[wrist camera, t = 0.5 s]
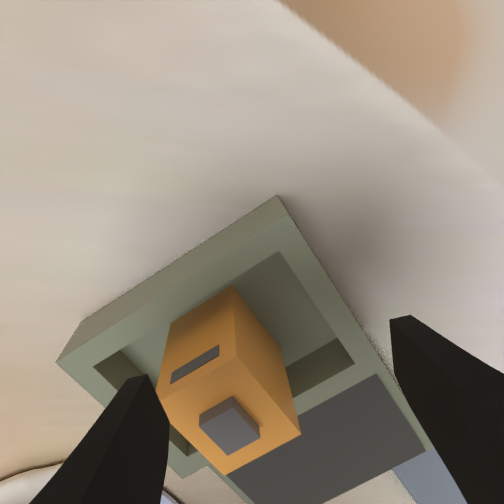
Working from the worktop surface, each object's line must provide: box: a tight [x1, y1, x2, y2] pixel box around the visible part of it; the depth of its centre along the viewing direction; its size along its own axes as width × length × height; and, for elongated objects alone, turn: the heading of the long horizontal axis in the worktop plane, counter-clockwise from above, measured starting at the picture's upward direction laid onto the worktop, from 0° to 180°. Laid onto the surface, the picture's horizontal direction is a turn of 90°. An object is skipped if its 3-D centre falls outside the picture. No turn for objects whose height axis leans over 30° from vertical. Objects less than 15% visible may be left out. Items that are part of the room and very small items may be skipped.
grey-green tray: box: [55, 195, 434, 504], centre depth 22 cm, size 13×20×4 cm, turn 33°
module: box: [156, 285, 301, 476], centre depth 18 cm, size 4×5×7 cm
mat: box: [392, 448, 467, 504], centre depth 28 cm, size 7×8×1 cm
